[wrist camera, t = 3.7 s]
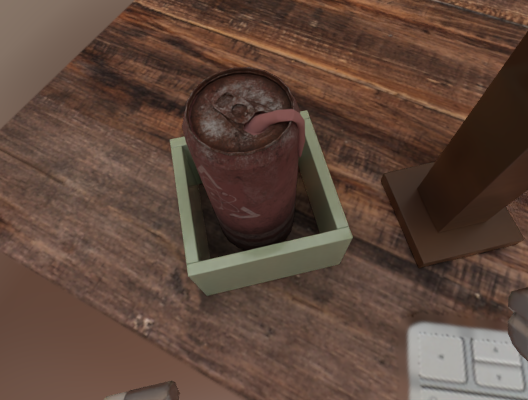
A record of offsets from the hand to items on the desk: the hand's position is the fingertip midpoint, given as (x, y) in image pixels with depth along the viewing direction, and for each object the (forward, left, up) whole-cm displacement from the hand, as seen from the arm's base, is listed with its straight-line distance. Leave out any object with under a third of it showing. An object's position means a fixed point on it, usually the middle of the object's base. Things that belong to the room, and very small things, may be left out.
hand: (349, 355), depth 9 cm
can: (+12, +1, -19) cm, 22 cm away
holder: (+12, +1, -18) cm, 22 cm away
